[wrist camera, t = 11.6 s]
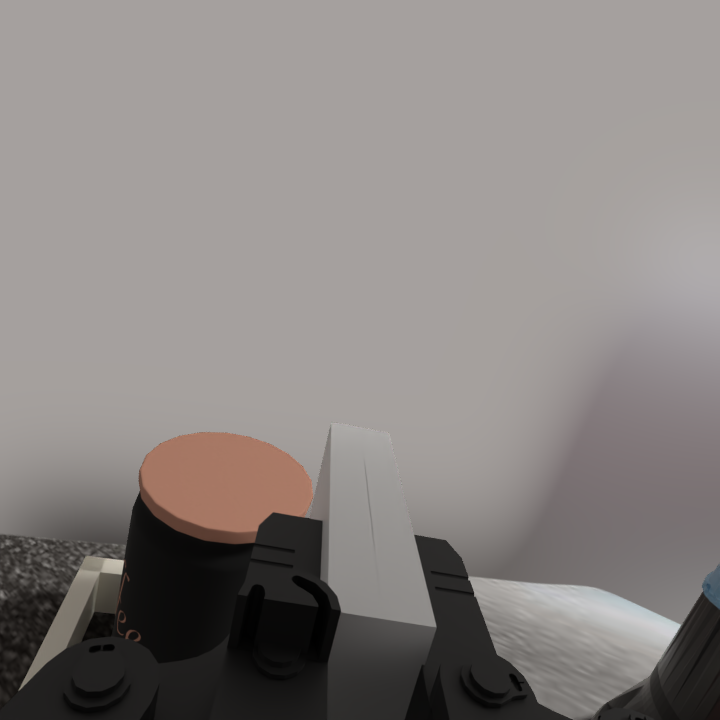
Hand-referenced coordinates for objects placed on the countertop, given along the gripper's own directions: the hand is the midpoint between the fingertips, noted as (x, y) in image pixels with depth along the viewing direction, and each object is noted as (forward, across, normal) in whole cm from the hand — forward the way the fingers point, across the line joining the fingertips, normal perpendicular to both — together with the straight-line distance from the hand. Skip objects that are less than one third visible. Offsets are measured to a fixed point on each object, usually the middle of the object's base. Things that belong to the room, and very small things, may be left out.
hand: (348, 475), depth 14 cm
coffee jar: (+19, -6, -29) cm, 35 cm away
